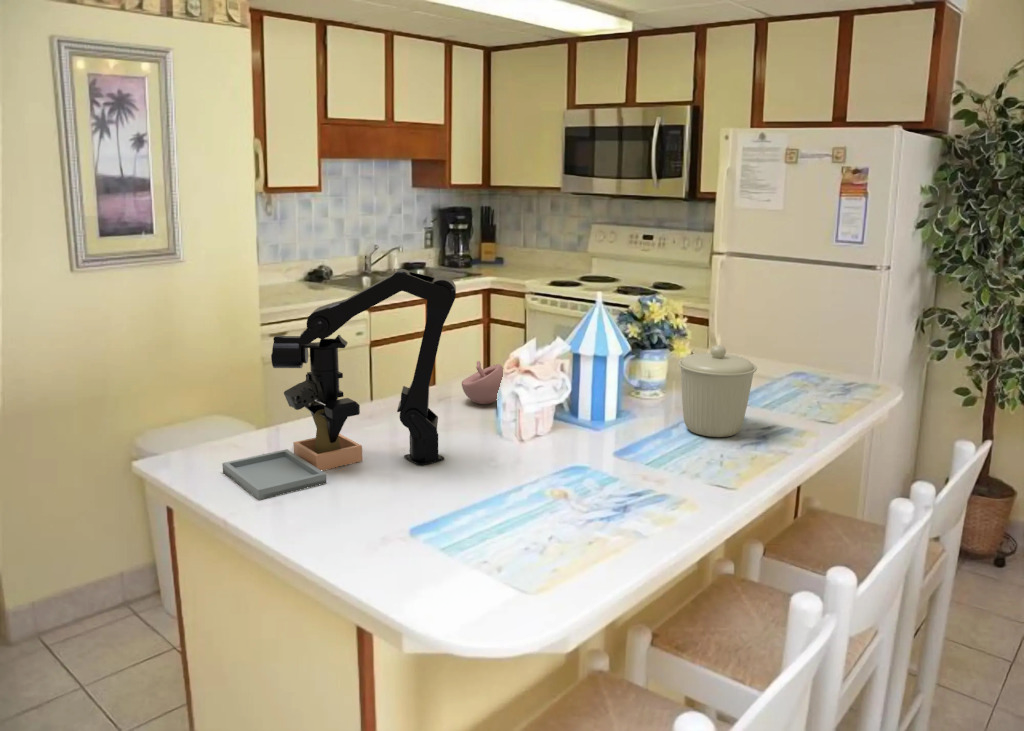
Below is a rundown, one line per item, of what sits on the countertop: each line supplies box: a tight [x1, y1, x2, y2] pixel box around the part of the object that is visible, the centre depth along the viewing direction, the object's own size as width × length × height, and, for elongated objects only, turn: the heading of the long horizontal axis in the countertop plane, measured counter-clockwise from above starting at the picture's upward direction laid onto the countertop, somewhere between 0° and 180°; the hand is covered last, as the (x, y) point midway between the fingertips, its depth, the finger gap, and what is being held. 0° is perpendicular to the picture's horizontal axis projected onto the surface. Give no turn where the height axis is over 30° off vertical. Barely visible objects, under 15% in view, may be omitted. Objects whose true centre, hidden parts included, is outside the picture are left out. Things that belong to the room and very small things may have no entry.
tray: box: [221, 449, 328, 501], centre depth 171 cm, size 18×14×2 cm
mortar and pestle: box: [461, 360, 504, 405], centre depth 223 cm, size 12×12×12 cm
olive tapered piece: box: [313, 409, 341, 454], centre depth 180 cm, size 6×6×11 cm
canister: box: [677, 344, 758, 438], centre depth 202 cm, size 18×18×21 cm
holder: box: [293, 433, 363, 471], centre depth 181 cm, size 11×11×4 cm
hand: (327, 439), depth 180 cm, fingers closed on olive tapered piece, 4 cm apart
